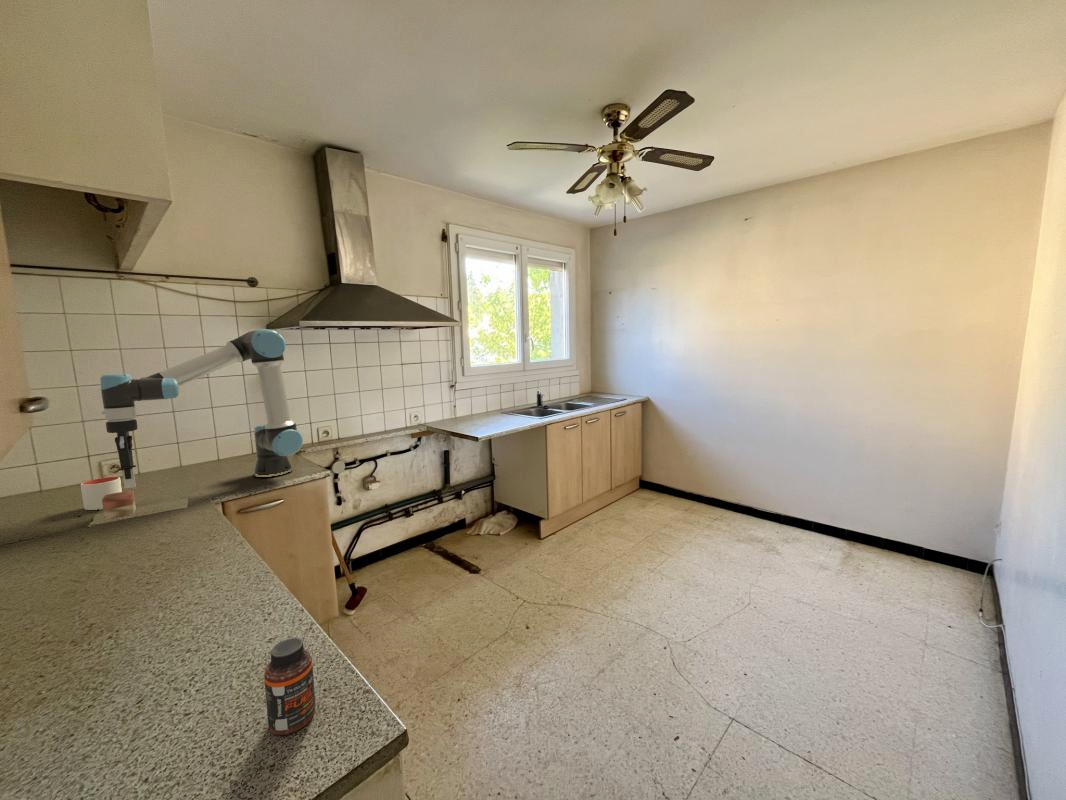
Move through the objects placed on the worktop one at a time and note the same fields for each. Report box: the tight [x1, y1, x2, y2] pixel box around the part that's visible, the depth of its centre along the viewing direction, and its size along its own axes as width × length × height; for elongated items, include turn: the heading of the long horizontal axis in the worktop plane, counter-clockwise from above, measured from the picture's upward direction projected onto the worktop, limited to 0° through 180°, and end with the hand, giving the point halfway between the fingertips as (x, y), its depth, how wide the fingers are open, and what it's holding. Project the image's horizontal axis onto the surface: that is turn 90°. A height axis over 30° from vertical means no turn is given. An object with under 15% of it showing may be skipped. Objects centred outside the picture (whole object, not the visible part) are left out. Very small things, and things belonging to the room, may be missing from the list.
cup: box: [80, 476, 123, 511], centre depth 152 cm, size 10×10×10 cm
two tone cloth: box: [102, 489, 136, 520], centre depth 143 cm, size 7×7×7 cm
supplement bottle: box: [263, 637, 316, 736], centre depth 60 cm, size 6×6×11 cm
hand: (130, 487), depth 144 cm, fingers closed
